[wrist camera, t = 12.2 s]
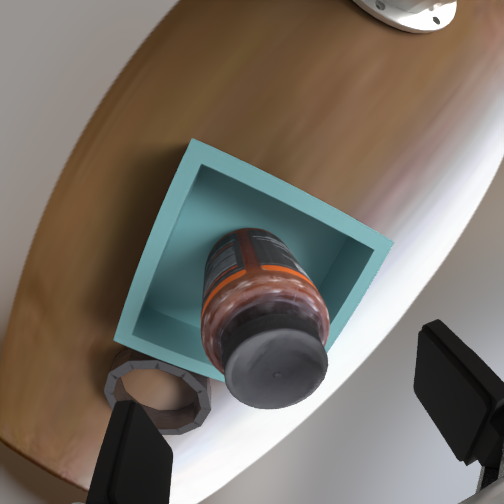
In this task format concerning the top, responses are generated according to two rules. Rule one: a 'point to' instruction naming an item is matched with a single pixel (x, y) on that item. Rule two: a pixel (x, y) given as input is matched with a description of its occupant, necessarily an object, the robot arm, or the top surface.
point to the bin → (218, 225)
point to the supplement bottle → (263, 320)
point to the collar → (163, 420)
